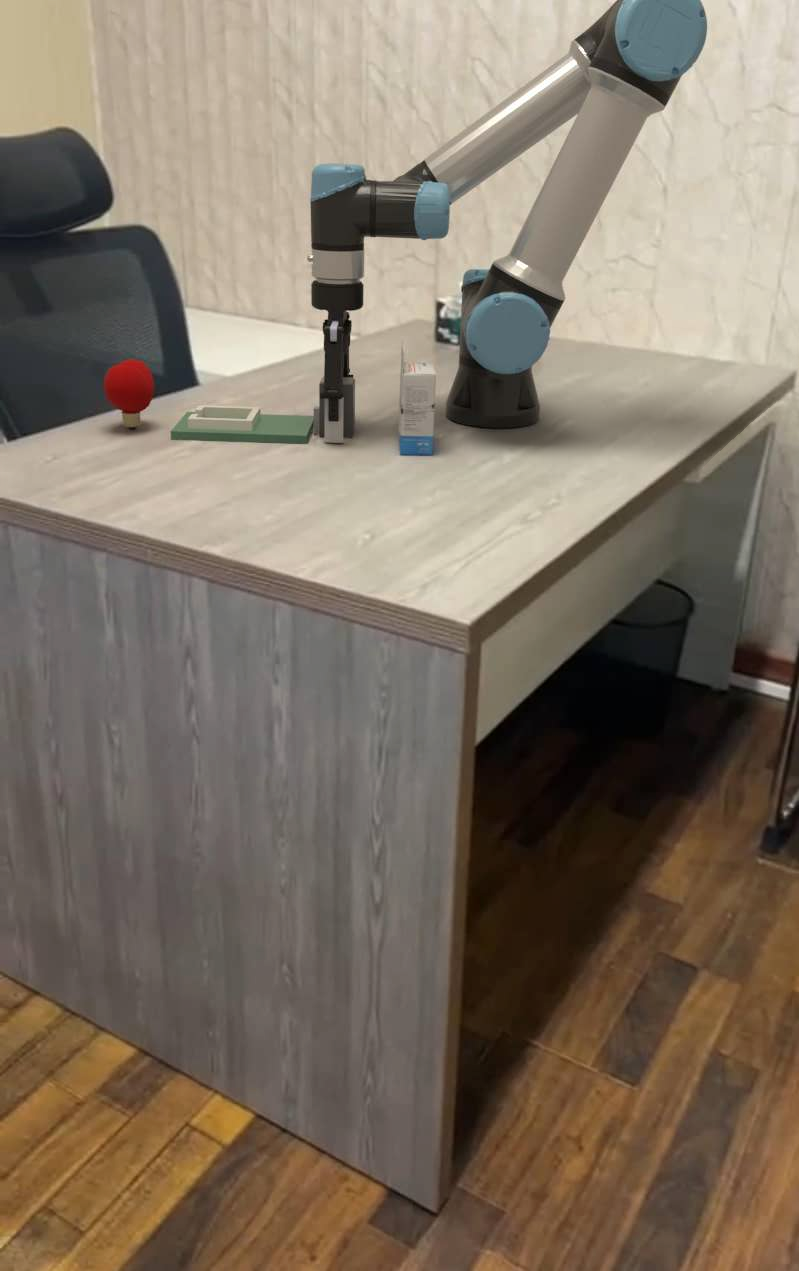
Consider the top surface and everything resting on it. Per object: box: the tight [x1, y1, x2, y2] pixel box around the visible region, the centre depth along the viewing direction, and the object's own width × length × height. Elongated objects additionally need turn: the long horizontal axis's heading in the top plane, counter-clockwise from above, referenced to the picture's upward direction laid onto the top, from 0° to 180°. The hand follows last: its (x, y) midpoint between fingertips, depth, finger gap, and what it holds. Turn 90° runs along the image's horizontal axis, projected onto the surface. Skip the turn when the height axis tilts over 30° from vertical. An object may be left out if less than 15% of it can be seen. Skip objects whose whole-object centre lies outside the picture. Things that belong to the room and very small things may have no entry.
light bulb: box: [103, 359, 155, 431], centre depth 174 cm, size 9×7×10 cm
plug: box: [313, 375, 356, 439], centre depth 174 cm, size 6×4×8 cm, turn 88°
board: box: [170, 404, 314, 445], centre depth 176 cm, size 20×12×3 cm, turn 88°
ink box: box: [397, 341, 437, 456], centre depth 167 cm, size 8×5×15 cm, turn 2°
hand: (336, 432), depth 176 cm, fingers open, 10 cm apart
